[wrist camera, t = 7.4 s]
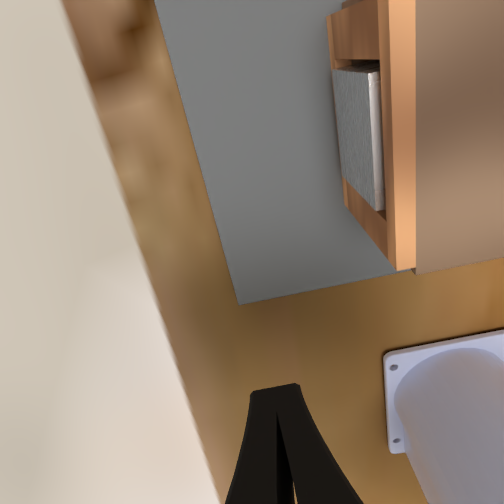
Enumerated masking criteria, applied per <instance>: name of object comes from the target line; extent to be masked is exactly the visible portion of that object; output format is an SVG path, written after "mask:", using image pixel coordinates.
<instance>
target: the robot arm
mask: <svg viewBox="0 0 504 504" xmlns="http://www.w3.org/2000/svg"><path fill="white" fill-rule="evenodd" d="M383 364H384V382H385V399H386V417H387V434H388V447H389V450H390V452H391V453H393V454H398V453H404V452H406V455H407V457H408V459H409V461H410V464H411V466H412V468H413V470H414V473H415V475H416V477H417V479H418V482H419V484H420V486H421V488H422V491H423V493H424V495H425V497H426V500H427V502H428V504H504V330H499V331H494V332H488V333H483V334H478V335H473V336H468V337H463V338H457V339H452V340H447V341H442V342H437V343H432V344H426V345H421V346H416V347H411V348H406V349H401V350H395V351H391V352H388V353H386V354H385V355H384V358H383ZM391 365H393V366H391ZM293 482H294V487H295V492H296V497H297V502H298V504H364V503H363V502H362V501H361V499H360V498H359V496H358V495H357V493H356V492H355V490H354V489H353V487H352V486H351V484H350V483H349V481H348V480H347V478H346V476H345V475H344V473H343V472H342V470H341V469H340V467H339V465H338V464H337V462H336V460H335V459H334V457H333V455H332V454H331V452H330V450H329V448H328V447H327V445H326V443H325V441H324V440H323V438H322V436H321V434H320V432H319V431H318V429H317V427H316V425H315V423H314V421H313V419H312V417H311V414H310V412H309V410H308V408H307V405H306V403H305V401H304V398H303V395H302V392H301V389H300V385H298V384H296V383H293V384H287V385H282V386H277V387H272V388H266V389H261V390H256V391H253V392H252V393H251V394H250V403H249V411H248V417H247V422H246V427H245V432H244V437H243V441H242V445H241V449H240V453H239V457H238V461H237V465H236V469H235V472H234V476H233V479H232V482H231V485H230V489H229V492H228V495H227V498H226V502H225V504H295V499H294V487H293Z"/></svg>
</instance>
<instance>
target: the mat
mask: <svg viewBox="0 0 504 504" xmlns="http://www.w3.org/2000/svg"><path fill="white" fill-rule="evenodd" d="M154 1H155V5H156V9H157V12H158V16H159V20H160V23H161V27H162V30H163V34H164V38H165V41H166V45H167V48H168V52H169V56H170V59H171V63H172V66H173V70H174V74H175V77H176V81H177V84H178V88H179V92H180V95H181V99H182V102H183V106H184V110H185V113H186V117H187V121H188V124H189V128H190V131H191V135H192V139H193V142H194V146H195V149H196V153H197V157H198V160H199V164H200V167H201V171H202V175H203V178H204V182H205V185H206V189H207V193H208V196H209V200H210V203H211V207H212V211H213V214H214V218H215V222H216V225H217V229H218V232H219V236H220V240H221V243H222V247H223V250H224V254H225V258H226V261H227V265H228V268H229V272H230V276H231V279H232V283H233V286H234V290H235V294H236V297H237V301H238V304H239V305H243V304H248V303H253V302H258V301H262V300H267V299H272V298H277V297H282V296H287V295H292V294H297V293H302V292H307V291H312V290H317V289H321V288H326V287H331V286H336V285H341V284H346V283H351V282H356V281H361V280H366V279H371V278H376V277H380V276H385V275H390V274H395V273H400V272H405V271H410V270H411V269H405V270H400V271H396V270H395V268H394V267H393V266H392V265H391V263H390V262H389V261H388V259H387V258H386V257H385V256H384V254H383V253H382V252H381V250H380V249H379V248H378V247H377V245H376V244H375V243H374V242H373V240H372V239H371V238H370V236H369V235H368V234H367V233H366V231H365V230H364V229H363V228H362V226H361V225H360V224H359V222H358V221H357V220H356V219H355V217H354V216H353V215H352V213H351V212H350V211H349V210H348V208H347V207H346V206H345V205H344V196H343V185H342V175H341V165H340V155H339V144H338V134H337V124H336V114H335V103H334V93H333V83H332V73H331V62H330V52H329V42H328V32H327V21H326V16H328V15H331V14H333V13H335V12H338V11H340V10H342V2H344V1H346V0H154Z"/></svg>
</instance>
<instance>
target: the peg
mask: <svg viewBox="0 0 504 504" xmlns="http://www.w3.org/2000/svg"><path fill="white" fill-rule="evenodd" d="M332 78H333V88H334V98H335V109H336V119H337V129H338V140H339V150H340V160H341V171H342V176H343V177H344V178H345V179H346V180H347V181H348V183H349V184H350V185H351V186H352V187H353V188H354V189H355V190H356V191H357V192H358V193H359V194H360V195H361V196H362V197H363V198H364V199H365V200H366V201H367V202H368V204H369V205H370V206H371V207H372V208H373V209H374V210H375V211H379V210H384V209H386V195H385V171H384V147H383V123H382V99H381V75H380V59H375V60H371V61H367V62H362V63H358V64H354V65H349V66H345V67H341V68H337V69H332Z"/></svg>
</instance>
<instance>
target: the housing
mask: <svg viewBox="0 0 504 504" xmlns="http://www.w3.org/2000/svg"><path fill="white" fill-rule="evenodd" d="M326 21H327V32H328V42H329V52H330V62H331V73H332V69H337V68H341V67H345V66H349V65H354V64H358V63H362V62H367V61H371V60H375V59H380V75H381V99H382V123H383V147H384V171H385V195H386V209H384V210H379V211H375V210H374V209H373V208H372V207H371V206H370V205H369V204H368V202H367V201H366V200H365V199H364V198H363V197H362V196H361V195H360V194H359V193H358V192H357V191H356V190H355V189H354V188H353V187H352V186H351V185H350V184H349V183H348V181H347V180H346V179H345V178H344V177H343V176H342V185H343V196H344V205H345V206H346V207H347V208H348V210H349V211H350V212H351V213H352V215H353V216H354V217H355V219H356V220H357V221H358V222H359V224H360V225H361V226H362V228H363V229H364V230H365V231H366V233H367V234H368V235H369V236H370V238H371V239H372V240H373V242H374V243H375V244H376V245H377V247H378V248H379V249H380V250H381V252H382V253H383V254H384V256H385V257H386V258H387V259H388V261H389V262H390V263H391V265H392V266H393V267H394V268H395V270H396V271H400V270H405V269H411V270H412V271H413V272H414V274H415V275H420V274H424V273H429V272H434V271H439V270H444V269H449V268H454V267H459V266H464V265H469V264H474V263H479V262H484V261H489V260H494V259H498V258H503V257H504V0H346V1H344V2H342V10H340V11H338V12H335V13H333V14H331V15H328V16H326ZM332 83H333V78H332ZM333 93H334V88H333ZM334 103H335V98H334ZM335 114H336V109H335ZM336 124H337V119H336ZM337 134H338V129H337ZM338 144H339V140H338ZM339 155H340V150H339ZM340 165H341V160H340ZM341 175H342V171H341Z"/></svg>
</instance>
